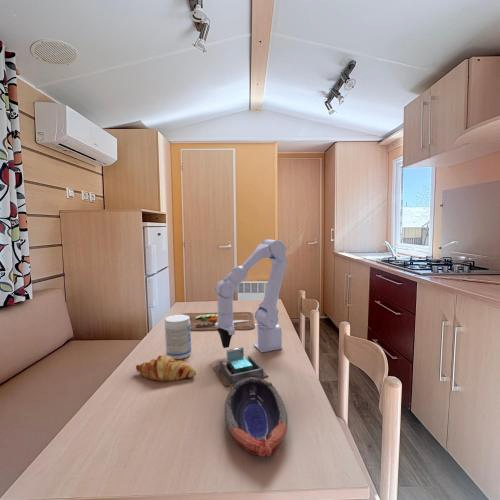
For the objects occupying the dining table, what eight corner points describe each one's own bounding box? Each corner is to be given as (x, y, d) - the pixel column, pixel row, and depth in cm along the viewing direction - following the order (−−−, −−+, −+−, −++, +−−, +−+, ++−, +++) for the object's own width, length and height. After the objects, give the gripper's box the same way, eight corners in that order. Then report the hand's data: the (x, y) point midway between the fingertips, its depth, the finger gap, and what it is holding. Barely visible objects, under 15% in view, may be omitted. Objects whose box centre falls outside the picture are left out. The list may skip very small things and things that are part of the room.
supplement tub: (195, 356, 117) (194, 318, 116) (171, 362, 112) (169, 323, 110) (185, 347, 125) (184, 312, 124) (162, 353, 120) (161, 316, 118)
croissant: (199, 383, 104) (202, 358, 107) (190, 383, 95) (194, 356, 98) (140, 378, 107) (144, 354, 110) (126, 378, 97) (131, 352, 100)
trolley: (244, 364, 109) (244, 346, 109) (255, 375, 101) (254, 356, 100) (224, 368, 106) (224, 350, 106) (234, 380, 98) (233, 360, 97)
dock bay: (251, 359, 114) (251, 351, 113) (268, 376, 101) (268, 368, 101) (212, 367, 108) (212, 359, 107) (225, 386, 95) (225, 377, 95)
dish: (277, 388, 94) (277, 373, 93) (297, 469, 63) (297, 446, 63) (226, 390, 93) (226, 375, 93) (222, 472, 63) (222, 449, 62)
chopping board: (257, 314, 172) (257, 308, 172) (260, 330, 145) (260, 324, 145) (177, 315, 171) (177, 310, 171) (165, 332, 144) (165, 326, 144)
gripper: (209, 308, 121) (210, 342, 122) (221, 319, 108) (221, 356, 109) (226, 306, 124) (227, 339, 125) (239, 316, 110) (240, 352, 112)
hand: (225, 347), depth 117 cm, fingers closed
